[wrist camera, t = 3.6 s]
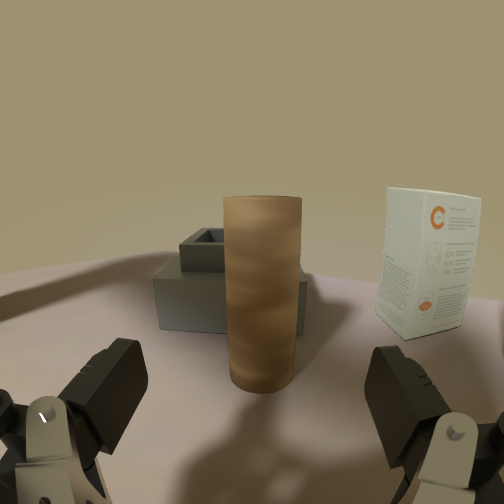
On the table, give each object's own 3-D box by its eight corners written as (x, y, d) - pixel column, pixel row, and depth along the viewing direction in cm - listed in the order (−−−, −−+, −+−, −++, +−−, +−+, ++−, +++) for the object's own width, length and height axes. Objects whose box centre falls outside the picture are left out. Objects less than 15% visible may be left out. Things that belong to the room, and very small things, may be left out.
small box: (428, 304, 28) (442, 192, 25) (461, 327, 22) (484, 198, 19) (372, 312, 27) (385, 185, 24) (403, 342, 21) (426, 189, 18)
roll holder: (160, 328, 25) (150, 250, 23) (193, 281, 37) (190, 225, 35) (302, 334, 24) (308, 251, 22) (292, 283, 36) (293, 225, 35)
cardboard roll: (226, 392, 17) (217, 200, 14) (233, 355, 21) (229, 195, 18) (294, 393, 16) (306, 200, 13) (290, 356, 21) (297, 196, 18)
